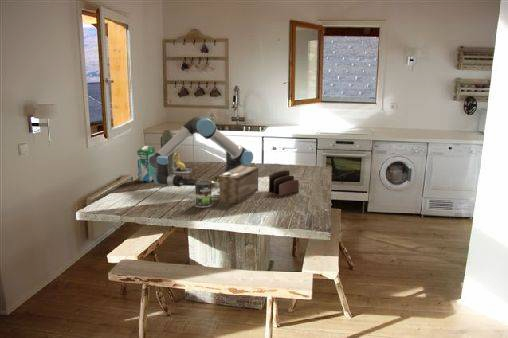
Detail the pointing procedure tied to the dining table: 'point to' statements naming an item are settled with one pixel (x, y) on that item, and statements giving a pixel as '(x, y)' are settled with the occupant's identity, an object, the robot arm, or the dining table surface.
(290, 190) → the letter holder
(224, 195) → the box
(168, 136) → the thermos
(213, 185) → the button
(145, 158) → the milk carton
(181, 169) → the stuffed giraffe
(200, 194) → the coffee can
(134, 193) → the dining table surface
